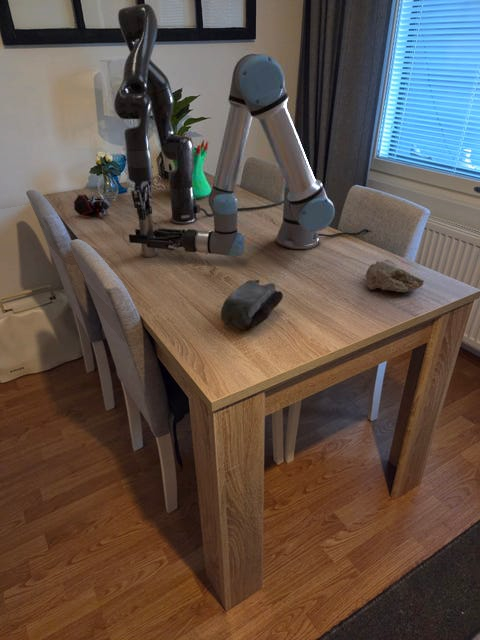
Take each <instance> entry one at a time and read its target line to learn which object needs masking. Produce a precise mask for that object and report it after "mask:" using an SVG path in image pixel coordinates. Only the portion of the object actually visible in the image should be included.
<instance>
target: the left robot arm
mask: <svg viewBox="0 0 480 640" xmlns="http://www.w3.org/2000/svg"><path fill="white" fill-rule="evenodd" d="M117 19H118V25H119V28H120V31H121V34H122V36H123V39H124V42H125V43H126V46H127V49H128V51H129V54H128V56H127V57H126V59H125V62H124V66H123V75H122V81H121V83H120V86H119V88H118V90H117V92H116V93H115V94H116V95H115V97H114V100H113V101H114V103H113V107H114V111H115V114H116V116H117V117H119V118H120V119H123V120H139V123H138V125H136V126H132V127H128V128H125V130H124V142H125V158H126V167H127V173H128V174H127V175H128V180H129V181H131V182H133V183H134V186H133V188H134V189H133V190H131V198H132V202H133V206H134V209H136V210H137V209H138V214H139V218H138V220H139V219H140V220H145V219H146V212H145V205H149V206H151V201H152V200H153V184H152V180H153V178H154V174H153V165H152V156H151V150H150V141H149V126H150V118H151V115H152V118H153V121H154V124H155V127H156V132H157V135H158V139H159V144H160V148H161V150H162V153H163V156H164V157H165V158H166V159H167V160H169V161H173V160H174V161H177V168H176V169H175V168H174V169H170V171H169V172H168V182H169V189H170V193H169V195H170V196H169V197H170V206H171V207H170V208H171V209H170V210H171V222H172V223H174V224H177V225H188V224H192V223H194V222H195V221H196V220H197V214H200V213H201V211H202V212H204V214H205V215H206V216H207V217H214V216H213V213H208V212H207V210H206V209H204V208H202V207H201V205H199V204H196V199H195V197H194V196H193V181H192V174H193V169H194V150H193V145H194V143H193V144H192V141H193V140H192V141H191V139H190V138H191V137H189V136H185V135H178V134H176V133H175V131H174V129H173V125H172V121H171V119H172V113H173V109H174V99H175V98H174V94H173V90H172V87H171V84H170V81H169V78H168V77H167V75H166V74H165V73H164V72H163V71H162V69H160V67H158V66H157V65H156V64H155V63H154V62H153V61H152V59H151V57H152V54H153V51H154V47H155V43H156V39H157V36H158V20H157V15H156V13H155V10H154V9H153V7H152V6H151V5H150V4H148V3H141V4H136V5H131V6H127V7H122V8H120V9H119V10H118V13H117ZM280 204H284V200H281V201H278V202H274V203H272V204H266V205H260V206H249V207H238V209H237V211H248V210H259V209H265V208H270V207H274V206H277V205H280ZM138 214H137V215H138Z"/></svg>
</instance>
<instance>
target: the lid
mask: <svg viewBox="0 0 480 640" xmlns="http://www.w3.org/2000/svg"><path fill="white" fill-rule="evenodd" d="M145 212H146V215H151V214H152V215H153V207H152V205H150V206H149V205H145ZM136 213H137V216H138V215H139V214H138V209H137V208H136Z"/></svg>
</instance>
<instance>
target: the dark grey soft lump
mask: <svg viewBox="0 0 480 640" xmlns="http://www.w3.org/2000/svg"><path fill="white" fill-rule="evenodd" d="M283 297H284V294H283V292H282V291H281V290H280V291H278V290H277V288H276V285H275V283H272V282H271V283H267V284H264V285H263V284H260V280H259V279H255V280H254V279H253V280H252V279H248V280H247V281H246V282H244V283H243V284H241V285H240V286H238V287H237V288H235V290H233V291H232V292H231V293H230V294H229V295H228V296H227V298H226V299H225V301H224V303H223V305H222V307H221V312H220V319H221V320H222V321H223V322H224V323H226V324H231V323H233V324H234V326H235V327H237V328H238V329H240V330H245V331H246V332H249V331H251V330H252V329H253V328H255V327H256V326H258V325H260V324H262V323H263V322H264V321H265V320H267V319H268V317H270V315H271V313H272V311H273V310H274V309H275V308H276V307H278V305H279V304H281V301H282V300H283Z"/></svg>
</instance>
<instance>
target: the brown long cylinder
mask: <svg viewBox="0 0 480 640" xmlns="http://www.w3.org/2000/svg"><path fill="white" fill-rule="evenodd" d="M137 217H138V225H139V229H140V235H143V236H146V235H148V237H155V236H154V221H153V213H152V214H151V215H146V219H145V220H140V219H139V215H138V214H137ZM141 250H142V257H145V258H153V257H155V256H156V255H157V251H156V248H148V247H147V244H141Z"/></svg>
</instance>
